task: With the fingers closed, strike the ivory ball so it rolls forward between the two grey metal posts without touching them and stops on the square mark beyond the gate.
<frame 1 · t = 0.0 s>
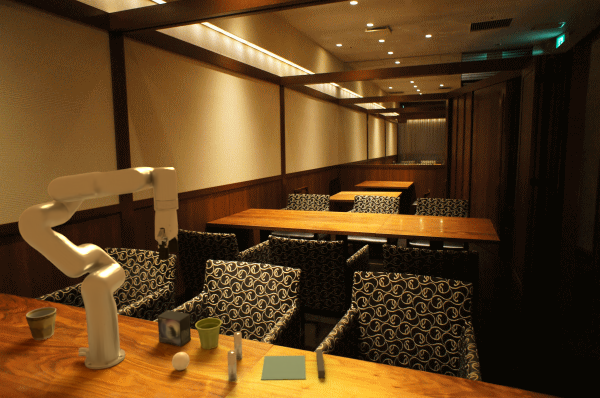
hand: (169, 255, 133), 37 cm above the table, tool pointing down, fingers open, 9 cm apart
ceramic cup: (41, 336, 156), on the table
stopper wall: (320, 366, 131), on the table
ball: (180, 361, 131), on the table
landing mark: (284, 367, 131), on the table
post 1: (232, 379, 125), on the table
small box: (174, 341, 150), on the table
plant pot: (209, 346, 147), on the table
post 2: (238, 358, 138), on the table
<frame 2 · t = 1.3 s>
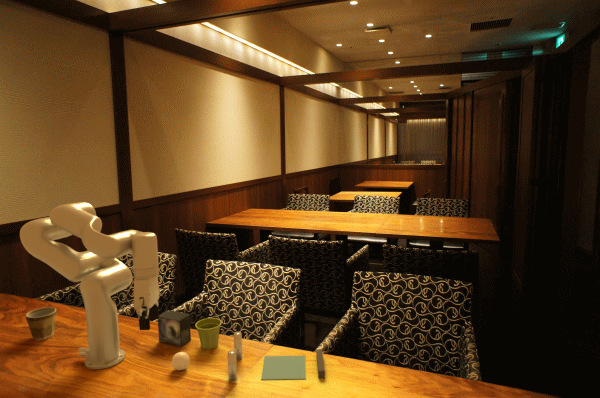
hand: (149, 323, 129), 16 cm above the table, tool pointing down, fingers open, 7 cm apart
nothing on the table moved.
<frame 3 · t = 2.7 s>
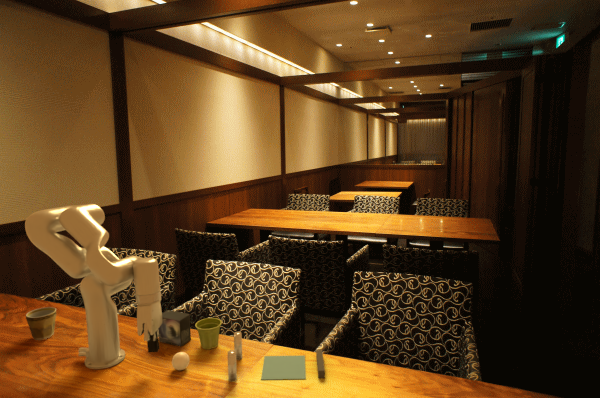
hand: (153, 350, 130), 7 cm above the table, tool pointing down, fingers closed
nothing on the table moved.
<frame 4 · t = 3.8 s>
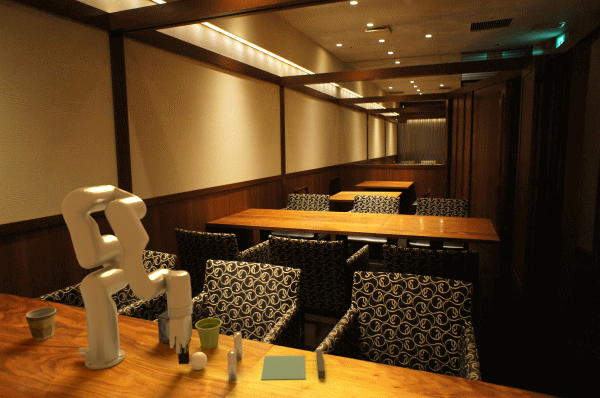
hand: (184, 362, 131), 2 cm above the table, tool pointing down, fingers closed
ball: (198, 360, 131), on the table
everything else where it was.
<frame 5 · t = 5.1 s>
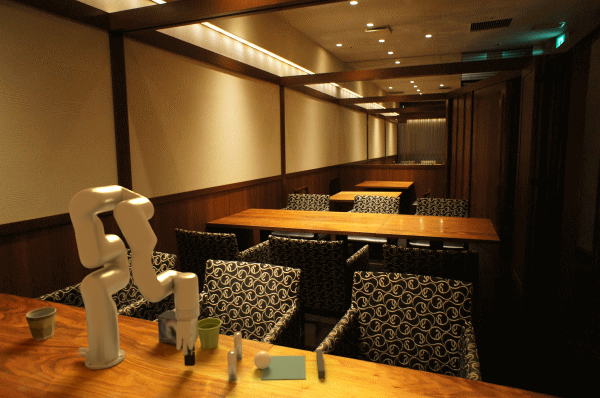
hand: (190, 364, 131), 2 cm above the table, tool pointing down, fingers closed
ball: (262, 359, 131), on the table
everything else where it was.
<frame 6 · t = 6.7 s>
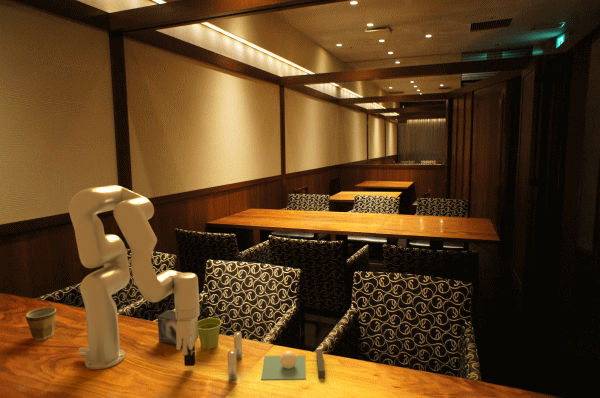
hand: (190, 364, 131), 2 cm above the table, tool pointing down, fingers closed
ball: (288, 359, 131), on the table
everything else where it was.
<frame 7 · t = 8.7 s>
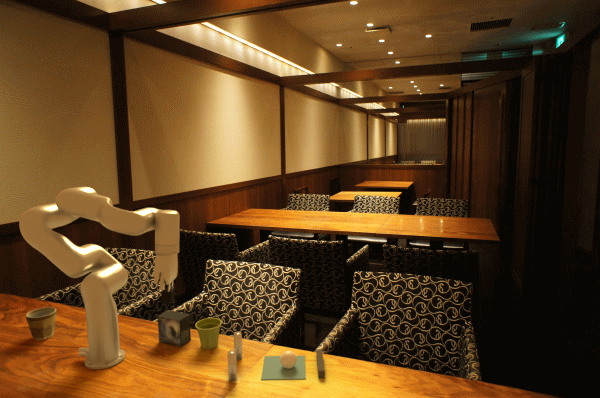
hand: (166, 301, 132), 22 cm above the table, tool pointing down, fingers closed
nothing on the table moved.
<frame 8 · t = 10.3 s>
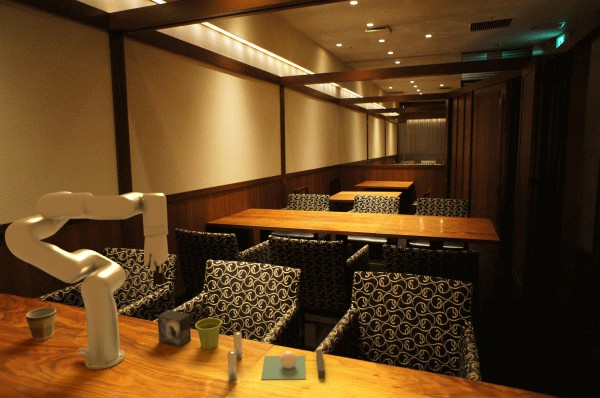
hand: (159, 283, 134), 27 cm above the table, tool pointing down, fingers closed
nothing on the table moved.
at the end: ball 1.5 cm from the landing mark (horizontally); ball never touched post 2; ball never touched post 1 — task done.
